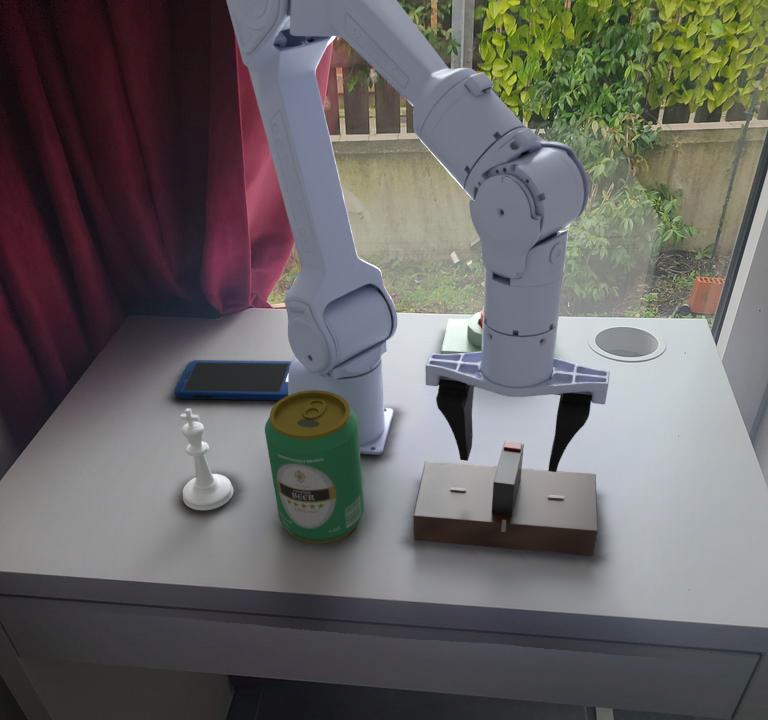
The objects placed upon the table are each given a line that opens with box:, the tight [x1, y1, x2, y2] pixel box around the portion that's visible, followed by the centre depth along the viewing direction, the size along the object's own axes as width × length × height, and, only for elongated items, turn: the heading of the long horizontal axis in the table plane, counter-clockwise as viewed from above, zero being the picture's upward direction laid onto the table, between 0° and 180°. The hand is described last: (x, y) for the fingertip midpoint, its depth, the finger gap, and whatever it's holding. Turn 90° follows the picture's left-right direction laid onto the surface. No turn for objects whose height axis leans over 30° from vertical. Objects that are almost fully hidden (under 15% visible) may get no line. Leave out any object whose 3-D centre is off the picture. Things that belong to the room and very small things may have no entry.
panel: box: [412, 460, 599, 557], centre depth 75 cm, size 16×10×3 cm, turn 80°
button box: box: [440, 311, 482, 354], centre depth 97 cm, size 12×8×4 cm, turn 80°
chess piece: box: [179, 407, 234, 511], centre depth 77 cm, size 5×5×10 cm
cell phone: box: [173, 359, 292, 401], centre depth 95 cm, size 7×14×1 cm, turn 85°
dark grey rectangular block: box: [492, 440, 525, 516], centre depth 73 cm, size 6×2×4 cm, turn 165°
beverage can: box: [264, 390, 365, 545], centre depth 73 cm, size 8×8×12 cm
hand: (509, 459), depth 71 cm, fingers open, 7 cm apart
